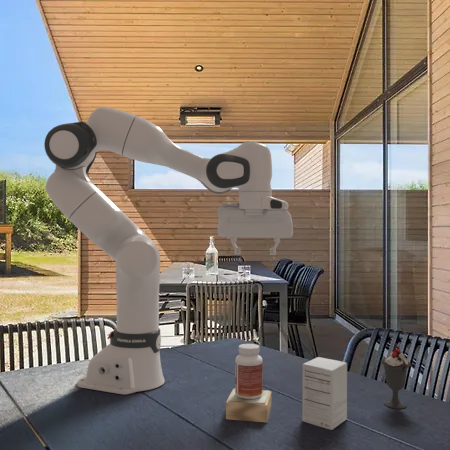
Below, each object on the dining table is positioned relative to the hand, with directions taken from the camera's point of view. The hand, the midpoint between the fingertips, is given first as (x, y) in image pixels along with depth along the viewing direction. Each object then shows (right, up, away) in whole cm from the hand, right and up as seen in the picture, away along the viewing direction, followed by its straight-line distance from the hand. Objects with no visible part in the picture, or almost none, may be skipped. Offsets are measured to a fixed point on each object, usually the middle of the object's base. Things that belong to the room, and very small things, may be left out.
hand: (255, 254), depth 133 cm
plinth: (-3, -34, -22) cm, 41 cm away
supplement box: (+14, -35, -26) cm, 45 cm away
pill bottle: (-3, -31, -22) cm, 37 cm away
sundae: (+32, -35, -16) cm, 50 cm away
